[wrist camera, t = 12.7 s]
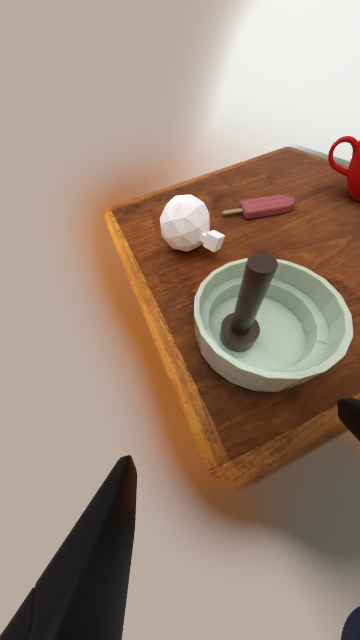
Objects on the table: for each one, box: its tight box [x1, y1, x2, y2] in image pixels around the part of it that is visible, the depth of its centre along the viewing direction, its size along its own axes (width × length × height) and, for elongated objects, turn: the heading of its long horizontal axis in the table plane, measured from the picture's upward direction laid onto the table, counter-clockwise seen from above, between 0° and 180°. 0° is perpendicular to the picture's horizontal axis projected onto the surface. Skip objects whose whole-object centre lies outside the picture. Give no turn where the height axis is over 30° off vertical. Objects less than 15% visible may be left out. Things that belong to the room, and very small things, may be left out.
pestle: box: [220, 253, 278, 352], centre depth 18 cm, size 4×4×12 cm
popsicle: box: [223, 195, 295, 219], centre depth 39 cm, size 5×2×15 cm
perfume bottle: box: [160, 195, 225, 252], centre depth 31 cm, size 9×9×12 cm
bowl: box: [194, 258, 353, 392], centre depth 21 cm, size 15×15×6 cm
